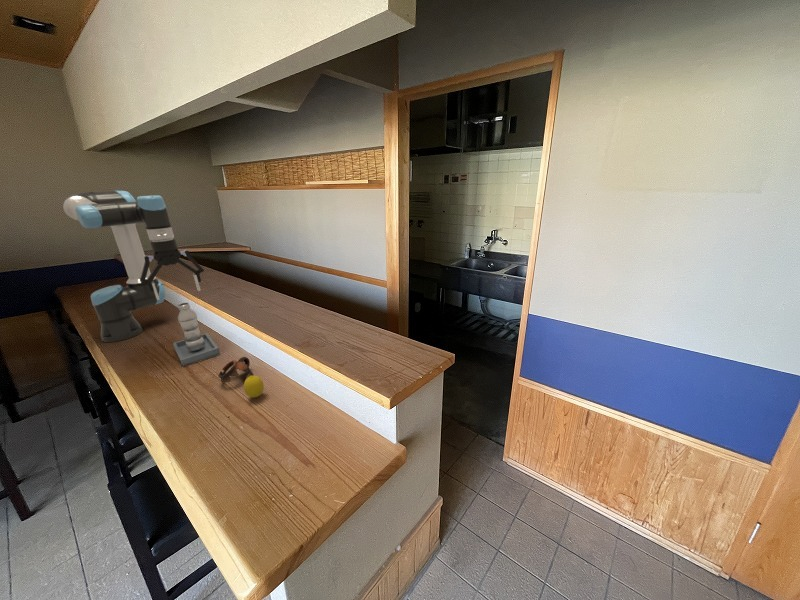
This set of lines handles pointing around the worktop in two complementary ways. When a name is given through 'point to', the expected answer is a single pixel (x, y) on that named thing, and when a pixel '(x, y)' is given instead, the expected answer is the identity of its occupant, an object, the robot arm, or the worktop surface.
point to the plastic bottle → (190, 327)
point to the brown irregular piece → (235, 369)
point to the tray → (195, 356)
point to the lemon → (253, 386)
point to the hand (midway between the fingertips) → (179, 294)
